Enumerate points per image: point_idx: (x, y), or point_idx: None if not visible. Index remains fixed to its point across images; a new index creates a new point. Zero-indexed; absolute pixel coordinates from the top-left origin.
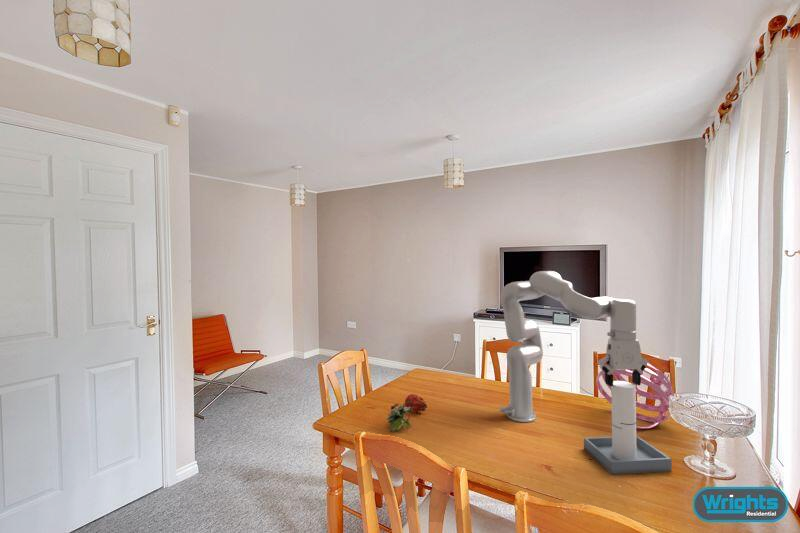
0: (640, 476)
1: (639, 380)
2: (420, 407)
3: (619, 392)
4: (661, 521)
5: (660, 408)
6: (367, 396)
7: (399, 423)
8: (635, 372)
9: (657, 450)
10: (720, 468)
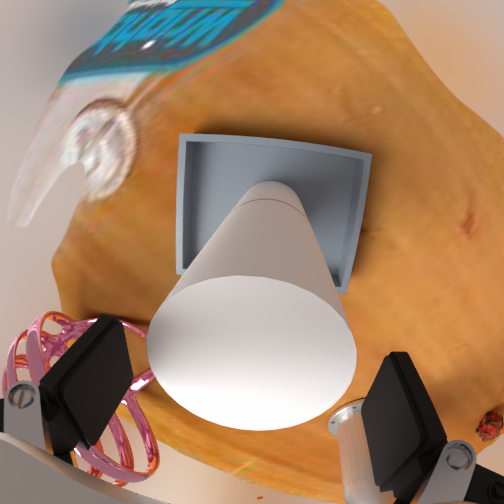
0: (294, 127)
1: (87, 341)
2: (494, 418)
3: (337, 297)
4: (370, 6)
5: (58, 348)
6: (491, 443)
7: None
8: (73, 427)
9: (181, 182)
10: (81, 140)
